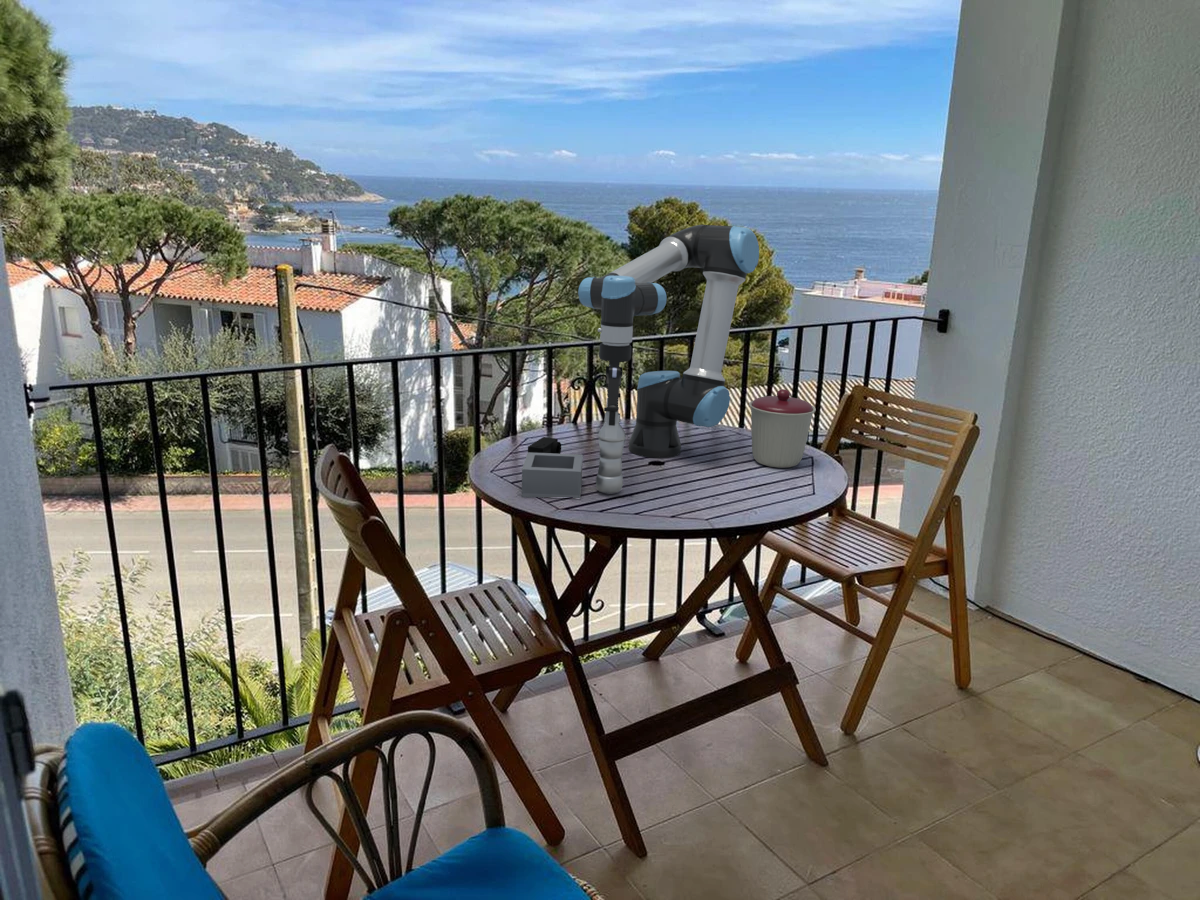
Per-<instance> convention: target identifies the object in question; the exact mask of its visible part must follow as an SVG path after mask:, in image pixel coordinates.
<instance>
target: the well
mask: <svg viewBox="0 0 1200 900" xmlns="http://www.w3.org/2000/svg"><path fill="white" fill-rule="evenodd" d="M583 457H584V455H583V454H580V453H579V454H576V453H575V454H574V453H573V454H572V453H560V454H555V453H531V452H528V451H527V453H526V456H525V460H524V462H523V465H522V469H521V498H533V497H535V498H536V497H538V498H540V497H543V498H542V499H545V498H544V497H573V498H580V499H581V494H580V493H581V492H582V485H581V484H583V466H584V465H583V460H584V458H583ZM540 499H541V498H540Z"/></svg>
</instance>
